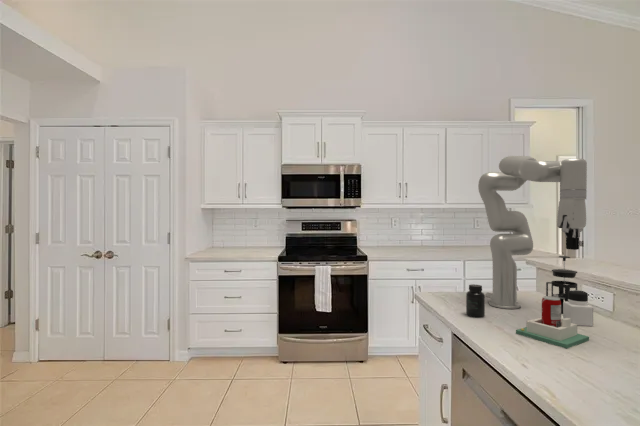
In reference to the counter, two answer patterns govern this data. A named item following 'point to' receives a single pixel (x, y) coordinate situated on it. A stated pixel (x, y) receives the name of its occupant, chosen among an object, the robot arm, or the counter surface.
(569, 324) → the board
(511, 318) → the counter surface
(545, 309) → the soda can
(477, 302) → the supplement bottle
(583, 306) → the medicine bottle
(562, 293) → the french press
